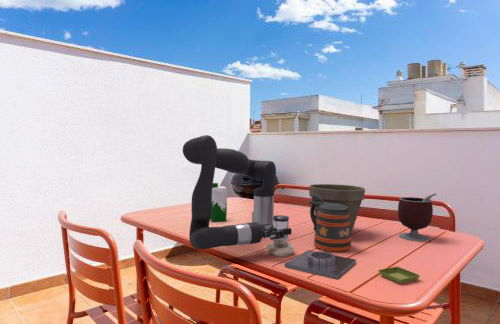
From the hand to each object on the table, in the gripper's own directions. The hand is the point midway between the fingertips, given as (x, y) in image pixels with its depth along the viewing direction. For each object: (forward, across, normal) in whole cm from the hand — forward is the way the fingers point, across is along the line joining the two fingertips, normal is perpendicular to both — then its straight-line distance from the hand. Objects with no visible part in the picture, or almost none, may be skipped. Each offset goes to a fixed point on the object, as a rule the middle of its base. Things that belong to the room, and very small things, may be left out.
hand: (286, 229), depth 131 cm
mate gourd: (+63, -6, +9) cm, 64 cm away
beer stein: (+19, 0, +9) cm, 21 cm away
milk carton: (-5, +62, +9) cm, 63 cm away
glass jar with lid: (-3, 0, +6) cm, 7 cm away
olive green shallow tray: (+18, -37, +9) cm, 42 cm away
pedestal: (-3, 0, +8) cm, 9 cm away
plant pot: (+36, +15, +9) cm, 40 cm away
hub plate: (+3, -18, +8) cm, 20 cm away
